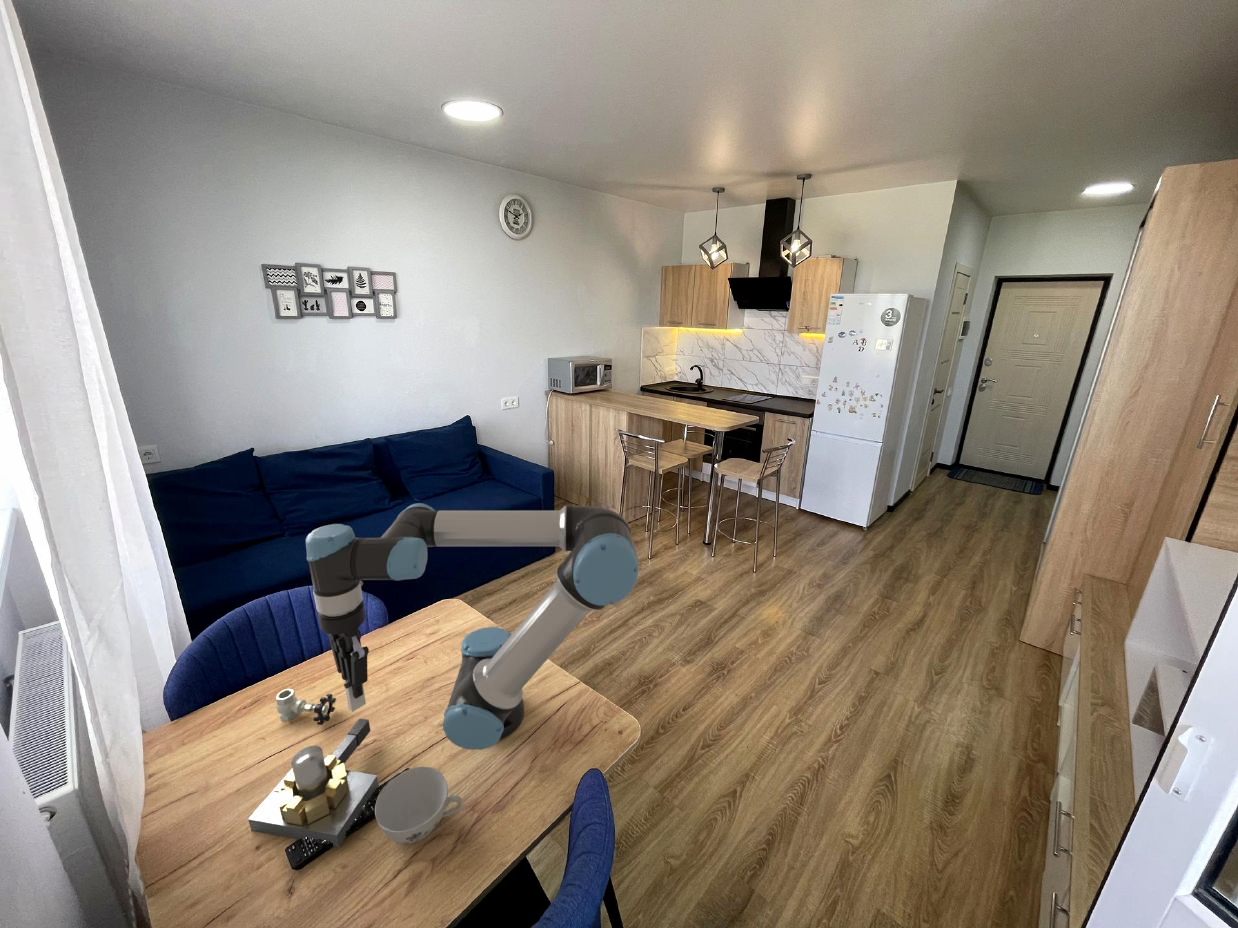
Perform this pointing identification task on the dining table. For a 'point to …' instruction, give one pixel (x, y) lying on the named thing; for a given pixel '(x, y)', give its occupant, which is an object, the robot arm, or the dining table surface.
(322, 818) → the plate
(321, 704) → the valve
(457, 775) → the dining table surface
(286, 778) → the grey bar gold ring
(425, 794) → the teacup
